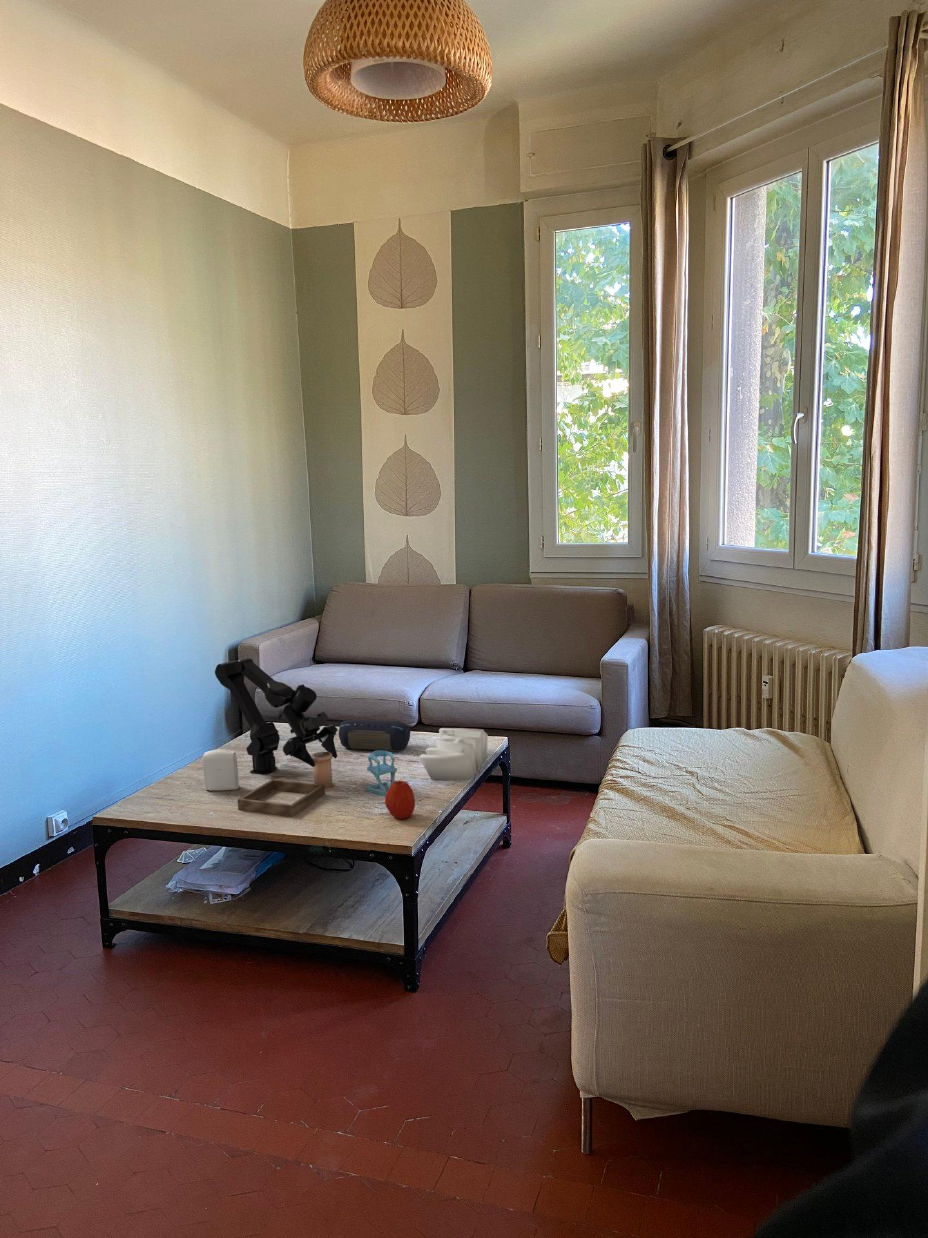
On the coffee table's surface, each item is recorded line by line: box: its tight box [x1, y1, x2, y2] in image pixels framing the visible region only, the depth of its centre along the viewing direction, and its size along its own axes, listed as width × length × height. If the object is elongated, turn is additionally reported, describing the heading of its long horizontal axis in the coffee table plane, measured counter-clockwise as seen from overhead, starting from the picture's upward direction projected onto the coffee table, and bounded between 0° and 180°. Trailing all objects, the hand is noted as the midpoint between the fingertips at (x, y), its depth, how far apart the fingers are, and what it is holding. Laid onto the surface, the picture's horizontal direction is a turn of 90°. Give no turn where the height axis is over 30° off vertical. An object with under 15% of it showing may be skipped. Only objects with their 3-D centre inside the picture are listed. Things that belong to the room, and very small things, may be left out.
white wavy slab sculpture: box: [418, 727, 489, 782], centre depth 285 cm, size 35×16×11 cm, turn 163°
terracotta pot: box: [310, 751, 333, 790], centre depth 271 cm, size 6×6×10 cm
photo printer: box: [202, 748, 240, 791], centre depth 271 cm, size 10×4×12 cm, turn 89°
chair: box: [364, 750, 398, 796], centre depth 266 cm, size 8×8×12 cm
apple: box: [384, 780, 416, 820], centre depth 245 cm, size 8×8×11 cm
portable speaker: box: [338, 719, 411, 752], centre depth 307 cm, size 25×10×10 cm, turn 76°
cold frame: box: [237, 778, 326, 817], centre depth 259 cm, size 18×18×3 cm
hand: (325, 761), depth 269 cm, fingers open, 9 cm apart
